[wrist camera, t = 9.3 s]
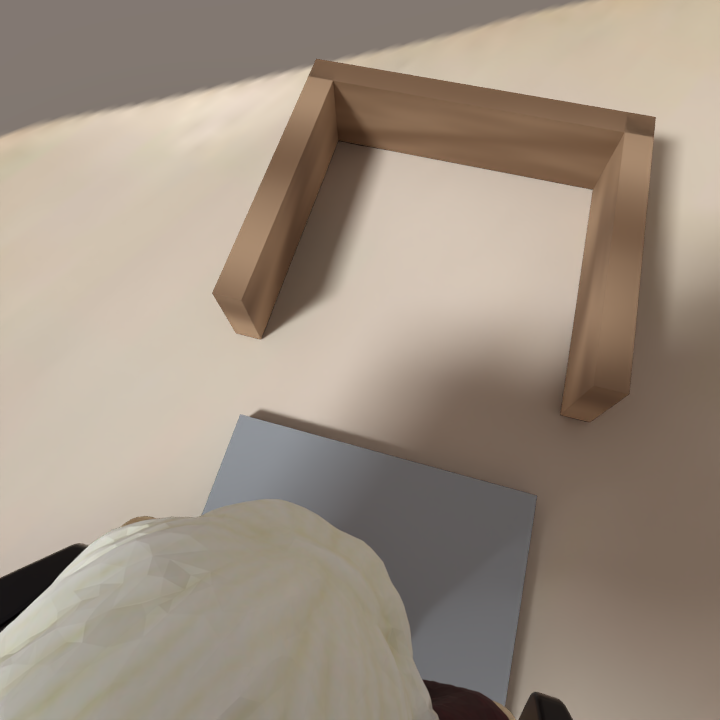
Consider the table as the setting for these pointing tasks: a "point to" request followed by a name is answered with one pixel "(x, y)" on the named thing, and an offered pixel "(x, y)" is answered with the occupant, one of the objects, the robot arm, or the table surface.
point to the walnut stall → (474, 148)
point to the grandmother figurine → (224, 628)
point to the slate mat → (406, 539)
